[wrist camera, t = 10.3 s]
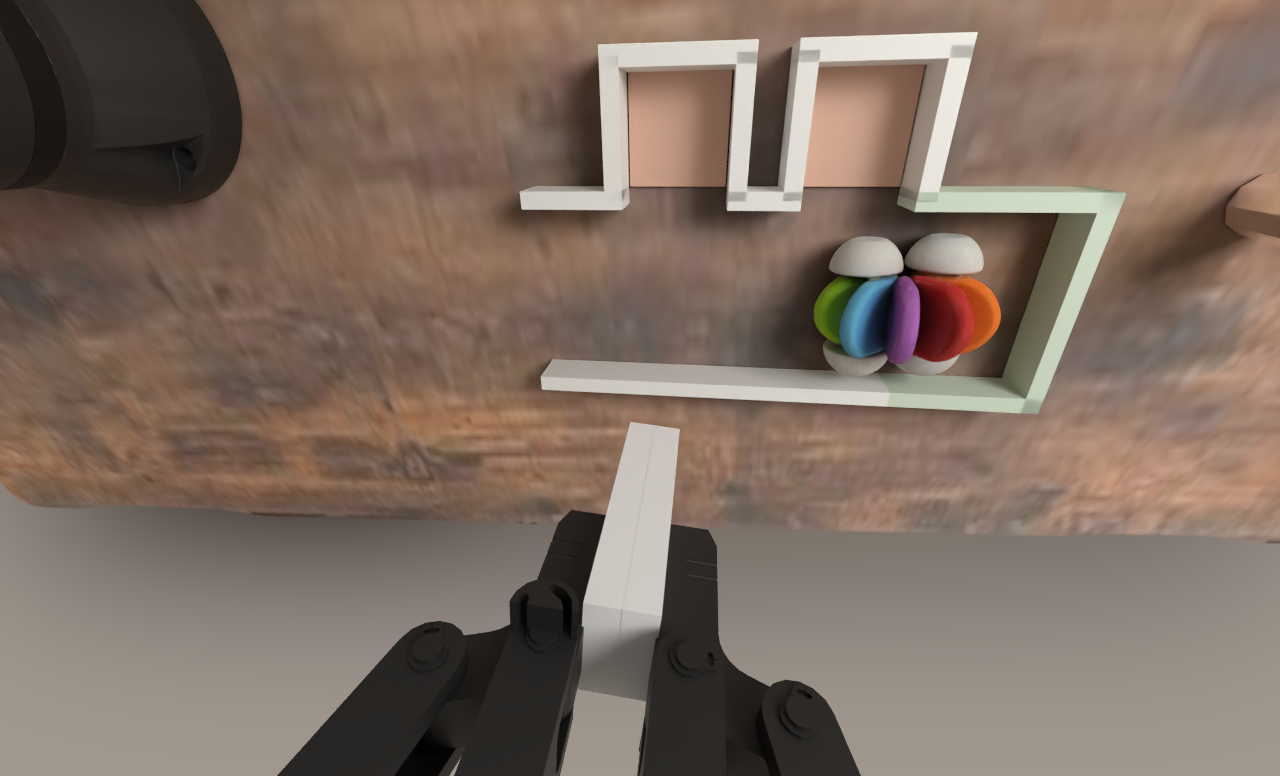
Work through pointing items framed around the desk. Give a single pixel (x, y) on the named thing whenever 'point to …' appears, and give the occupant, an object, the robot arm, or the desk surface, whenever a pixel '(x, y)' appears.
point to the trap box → (826, 157)
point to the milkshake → (1257, 209)
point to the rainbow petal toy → (905, 305)
